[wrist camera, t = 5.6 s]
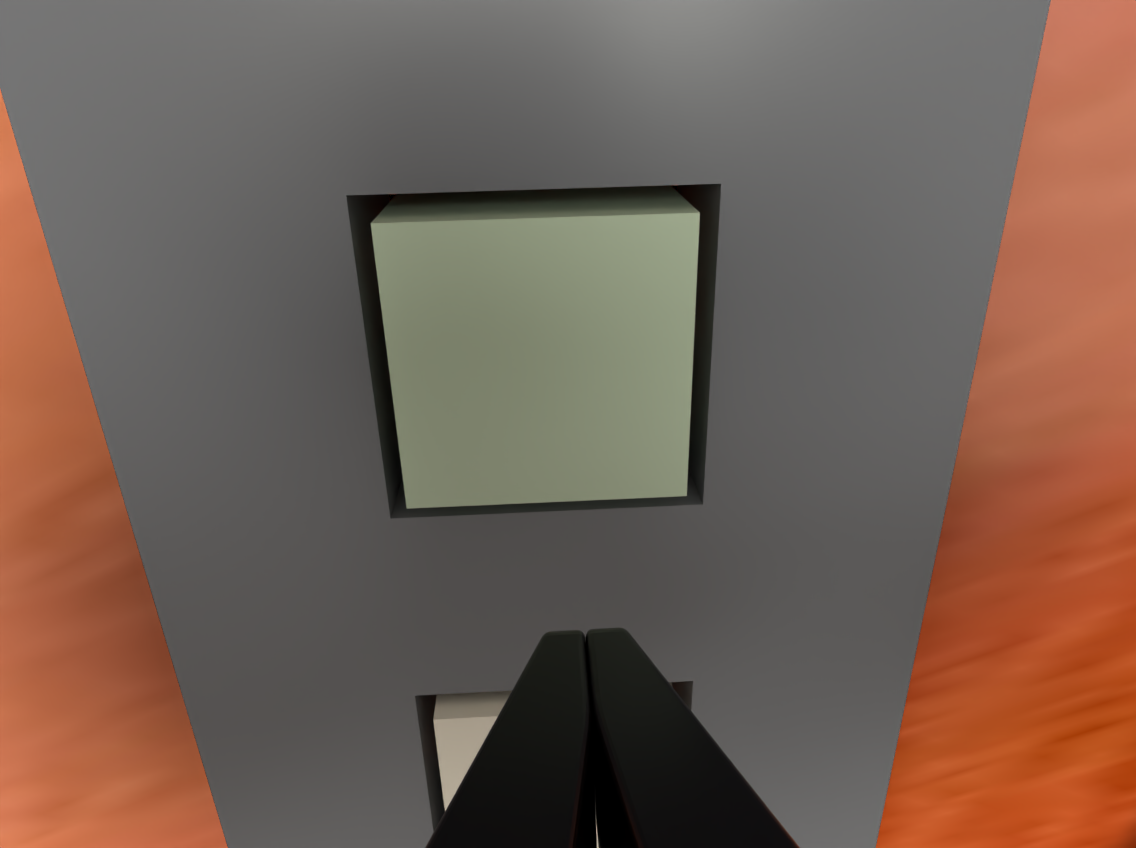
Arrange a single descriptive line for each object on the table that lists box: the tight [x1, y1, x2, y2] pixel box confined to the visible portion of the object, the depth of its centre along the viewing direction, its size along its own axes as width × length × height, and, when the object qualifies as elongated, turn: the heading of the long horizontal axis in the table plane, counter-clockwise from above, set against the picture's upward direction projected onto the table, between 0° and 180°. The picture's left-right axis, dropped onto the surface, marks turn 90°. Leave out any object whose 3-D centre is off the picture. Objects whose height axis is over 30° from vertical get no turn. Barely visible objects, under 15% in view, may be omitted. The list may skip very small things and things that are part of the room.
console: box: [0, 0, 1051, 848], centre depth 12 cm, size 12×26×3 cm, turn 2°
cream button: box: [433, 682, 672, 848], centre depth 15 cm, size 4×4×2 cm
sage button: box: [371, 185, 700, 509], centre depth 12 cm, size 4×4×2 cm
